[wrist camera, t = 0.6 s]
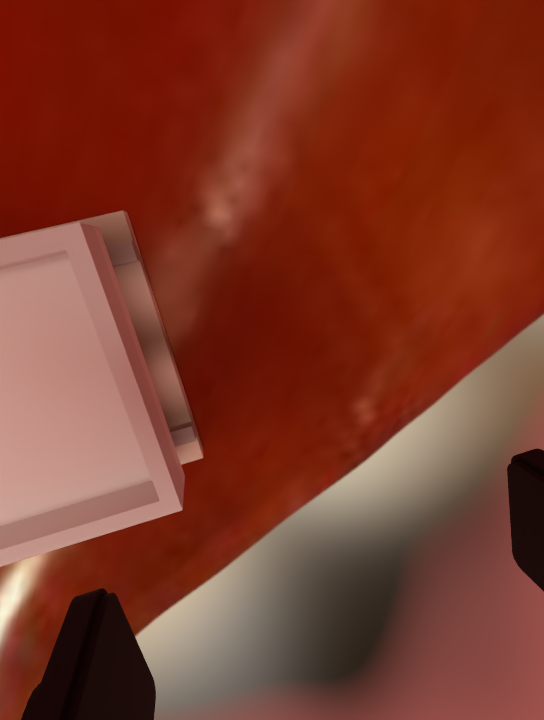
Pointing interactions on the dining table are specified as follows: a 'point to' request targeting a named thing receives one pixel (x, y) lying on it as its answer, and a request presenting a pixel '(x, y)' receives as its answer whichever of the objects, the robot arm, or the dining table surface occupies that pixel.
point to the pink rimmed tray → (74, 400)
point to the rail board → (147, 329)
